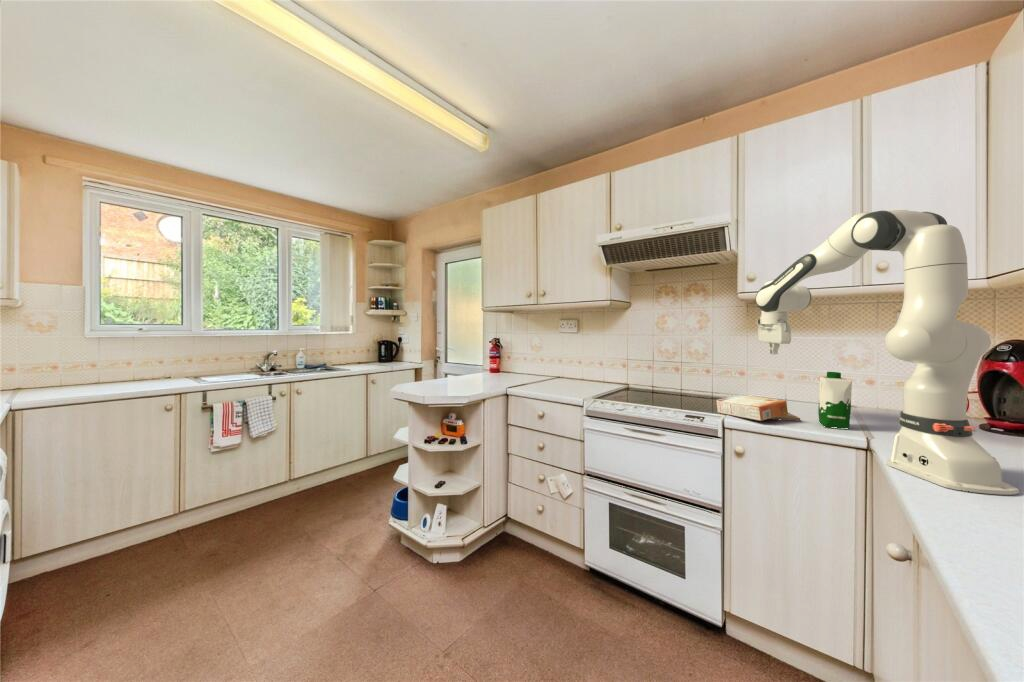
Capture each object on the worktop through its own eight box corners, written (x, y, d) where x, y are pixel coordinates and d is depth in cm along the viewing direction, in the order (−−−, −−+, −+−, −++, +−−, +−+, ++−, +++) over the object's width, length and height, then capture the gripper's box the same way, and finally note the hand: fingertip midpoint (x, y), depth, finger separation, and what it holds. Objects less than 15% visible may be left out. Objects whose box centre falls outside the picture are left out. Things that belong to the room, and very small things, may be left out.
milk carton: (844, 425, 141) (847, 372, 140) (853, 431, 133) (855, 375, 132) (815, 422, 145) (817, 371, 144) (821, 428, 137) (823, 373, 136)
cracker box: (788, 415, 145) (742, 407, 165) (787, 400, 145) (740, 393, 165) (761, 422, 141) (716, 412, 161) (759, 406, 141) (715, 399, 161)
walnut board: (800, 421, 146) (800, 418, 146) (754, 419, 150) (754, 416, 150) (776, 409, 166) (776, 407, 166) (736, 407, 169) (736, 405, 169)
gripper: (796, 319, 140) (795, 356, 141) (771, 320, 160) (770, 352, 161) (777, 319, 142) (776, 356, 142) (755, 320, 162) (754, 352, 162)
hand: (773, 354), depth 152 cm, fingers closed
